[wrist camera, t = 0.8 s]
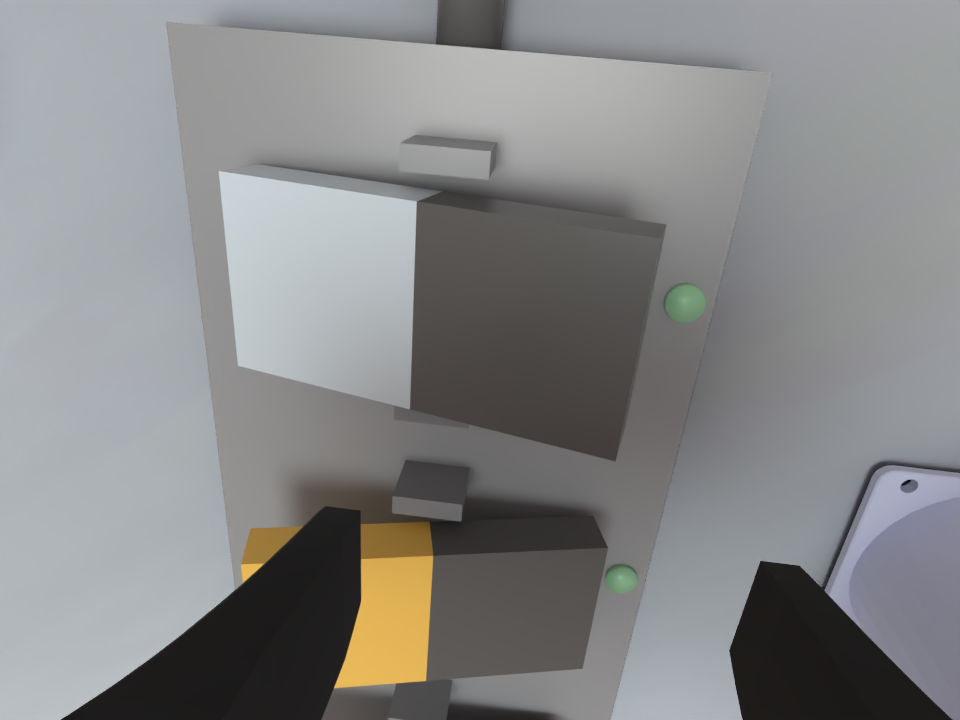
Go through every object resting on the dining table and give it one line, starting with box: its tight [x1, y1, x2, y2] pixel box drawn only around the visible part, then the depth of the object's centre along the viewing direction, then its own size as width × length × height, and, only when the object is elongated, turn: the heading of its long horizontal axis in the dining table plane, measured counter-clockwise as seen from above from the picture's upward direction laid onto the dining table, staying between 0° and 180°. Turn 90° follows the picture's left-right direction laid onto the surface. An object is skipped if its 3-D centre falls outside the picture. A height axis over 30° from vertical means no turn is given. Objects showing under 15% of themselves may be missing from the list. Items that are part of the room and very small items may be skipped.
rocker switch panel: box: [166, 0, 773, 720], centre depth 20 cm, size 14×35×4 cm, turn 175°
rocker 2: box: [241, 516, 608, 688], centre depth 19 cm, size 10×5×1 cm, turn 86°
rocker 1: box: [219, 164, 667, 462], centre depth 15 cm, size 10×5×1 cm, turn 85°
